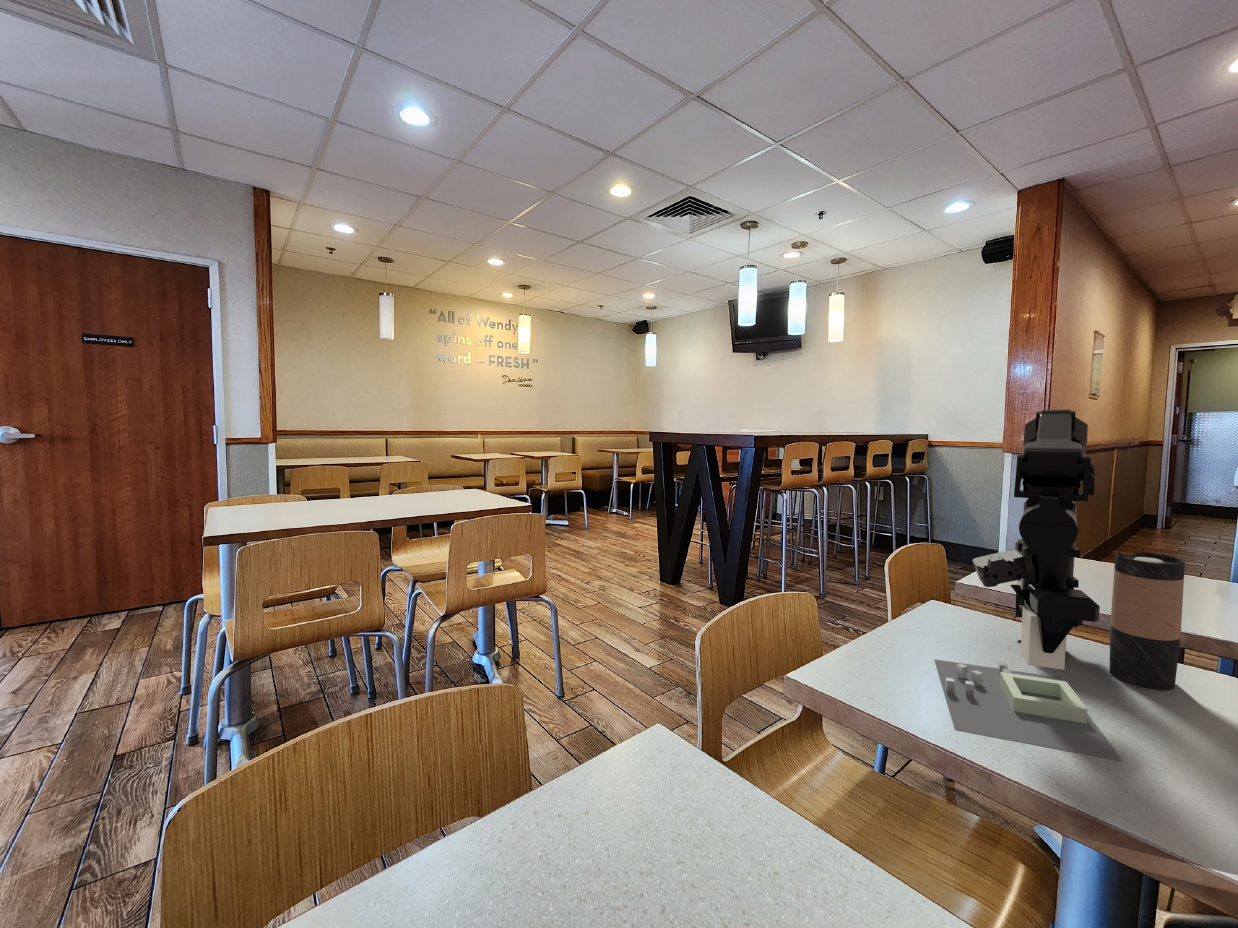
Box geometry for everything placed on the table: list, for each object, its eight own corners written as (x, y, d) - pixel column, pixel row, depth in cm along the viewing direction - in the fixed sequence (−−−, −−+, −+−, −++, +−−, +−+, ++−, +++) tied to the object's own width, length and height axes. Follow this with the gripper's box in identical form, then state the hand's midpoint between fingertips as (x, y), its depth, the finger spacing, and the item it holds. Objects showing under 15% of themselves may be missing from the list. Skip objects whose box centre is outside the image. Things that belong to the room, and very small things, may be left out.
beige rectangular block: (1020, 652, 78) (1022, 606, 78) (1054, 657, 77) (1057, 609, 76) (1028, 664, 75) (1030, 616, 74) (1064, 669, 73) (1066, 619, 72)
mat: (933, 664, 90) (934, 659, 90) (1060, 683, 83) (1060, 677, 83) (954, 736, 70) (954, 729, 70) (1122, 769, 63) (1123, 761, 63)
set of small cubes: (937, 665, 88) (938, 653, 88) (1005, 675, 84) (1006, 663, 84) (946, 693, 79) (946, 680, 79) (1022, 706, 75) (1023, 692, 75)
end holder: (999, 684, 81) (1000, 671, 81) (1065, 694, 78) (1066, 681, 78) (1013, 711, 74) (1013, 697, 74) (1086, 723, 71) (1087, 709, 71)
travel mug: (1174, 703, 77) (1184, 567, 75) (1103, 684, 83) (1111, 557, 81) (1178, 685, 82) (1187, 557, 80) (1110, 668, 88) (1118, 548, 86)
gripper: (967, 521, 86) (964, 615, 87) (993, 548, 69) (988, 665, 70) (1053, 525, 81) (1048, 625, 83) (1104, 555, 64) (1097, 680, 66)
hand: (1042, 646), depth 76 cm, fingers closed on beige rectangular block, 4 cm apart
